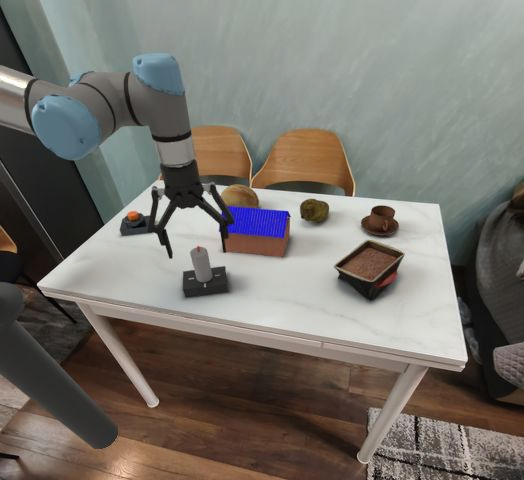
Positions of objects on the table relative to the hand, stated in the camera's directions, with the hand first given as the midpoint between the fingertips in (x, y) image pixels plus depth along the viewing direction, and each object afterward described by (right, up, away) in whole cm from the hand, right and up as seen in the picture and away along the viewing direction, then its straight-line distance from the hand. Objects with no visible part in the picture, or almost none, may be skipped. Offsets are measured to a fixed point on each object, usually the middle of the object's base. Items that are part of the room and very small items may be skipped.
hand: (197, 252), depth 78 cm
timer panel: (+1, -7, +8) cm, 11 cm away
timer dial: (+1, -5, +6) cm, 8 cm away
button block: (-28, +18, +30) cm, 45 cm away
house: (+15, +9, +21) cm, 27 cm away
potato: (+35, +20, +29) cm, 49 cm away
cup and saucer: (+55, +15, +24) cm, 62 cm away
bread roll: (+8, +28, +36) cm, 47 cm away
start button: (-28, +21, +27) cm, 44 cm away
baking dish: (+45, -6, +7) cm, 46 cm away
